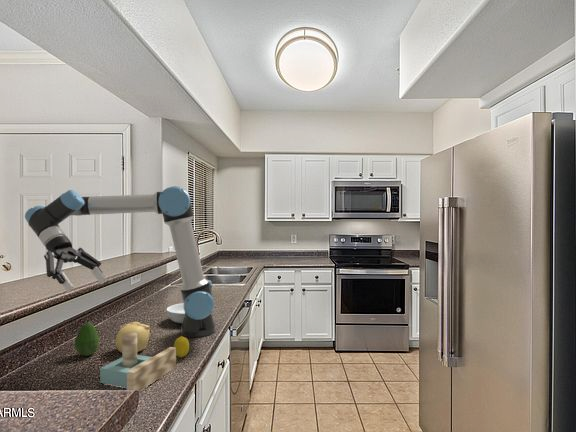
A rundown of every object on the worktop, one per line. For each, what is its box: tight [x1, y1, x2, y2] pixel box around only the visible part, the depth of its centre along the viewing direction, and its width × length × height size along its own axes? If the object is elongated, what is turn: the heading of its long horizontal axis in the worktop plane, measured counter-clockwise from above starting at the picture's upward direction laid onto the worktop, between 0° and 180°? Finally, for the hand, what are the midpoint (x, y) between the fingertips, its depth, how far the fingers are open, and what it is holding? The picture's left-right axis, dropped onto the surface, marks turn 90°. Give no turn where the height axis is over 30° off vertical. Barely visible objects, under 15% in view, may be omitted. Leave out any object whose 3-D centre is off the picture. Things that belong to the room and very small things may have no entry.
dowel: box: [121, 333, 138, 368], centre depth 114 cm, size 4×4×14 cm
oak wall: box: [126, 346, 177, 393], centre depth 112 cm, size 20×2×7 cm, turn 162°
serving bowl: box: [166, 302, 185, 324], centre depth 174 cm, size 21×21×7 cm
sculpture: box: [115, 321, 151, 353], centre depth 137 cm, size 11×12×11 cm
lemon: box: [173, 335, 190, 359], centre depth 130 cm, size 6×6×8 cm
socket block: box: [99, 354, 153, 388], centre depth 114 cm, size 12×12×5 cm
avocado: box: [74, 322, 100, 357], centre depth 133 cm, size 8×8×12 cm
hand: (88, 285), depth 124 cm, fingers open, 13 cm apart
